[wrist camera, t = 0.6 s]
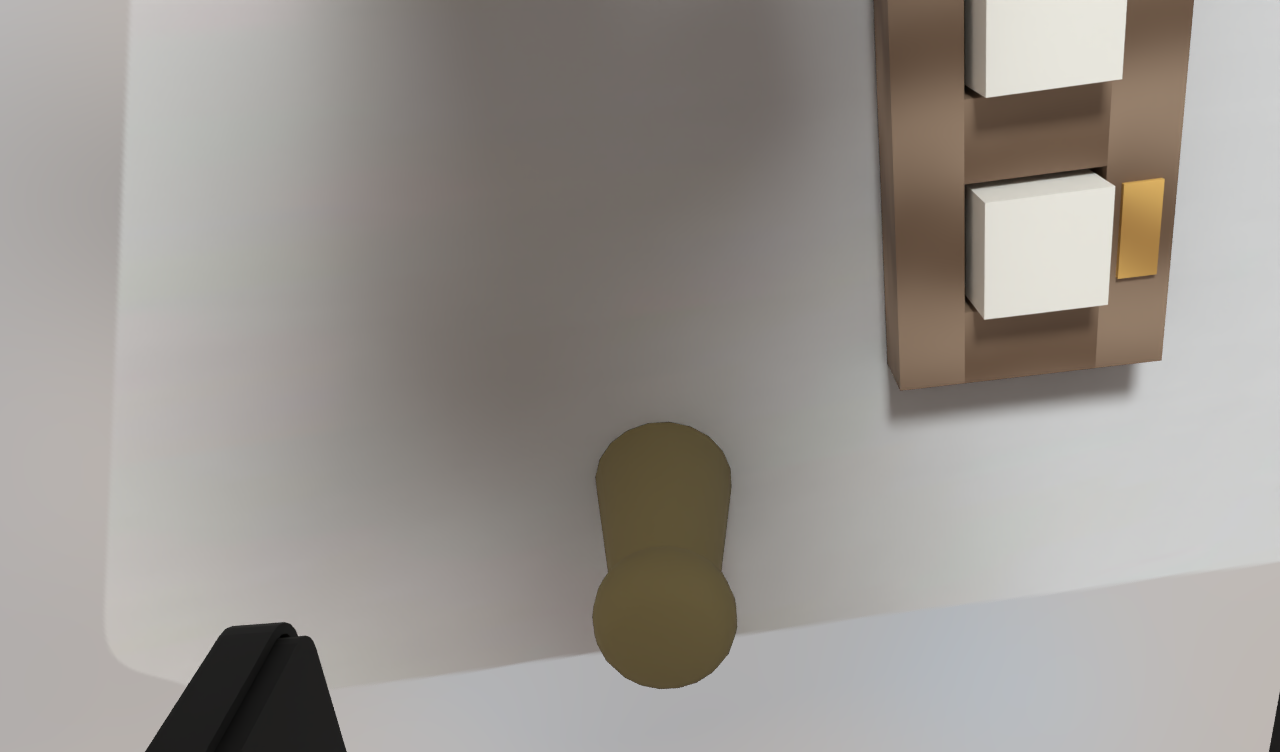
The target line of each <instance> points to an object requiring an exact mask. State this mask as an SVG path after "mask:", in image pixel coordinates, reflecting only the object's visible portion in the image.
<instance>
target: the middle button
mask: <svg viewBox="0 0 1280 752" xmlns="http://www.w3.org/2000/svg"><path fill="white" fill-rule="evenodd" d="M1126 11H1127V0H965V85H966V86H968V87H969V88H971V89H972V90H974V91H976V92H977V93H979V94H980V95H982V96H984V97H985V98H989V97H996V96H1003V95H1011V94H1018V93H1025V92H1032V91H1040V90H1047V89H1054V88H1062V87H1069V86H1076V85H1083V84H1091V83H1098V82H1105V81H1113V80H1120V79H1122V74H1123V58H1124V42H1125V27H1126Z"/></svg>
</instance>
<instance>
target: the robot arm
mask: <svg viewBox="0 0 1280 752" xmlns="http://www.w3.org/2000/svg"><path fill="white" fill-rule="evenodd" d="M145 752H346V748H345V745H344V742H343V738H342V735H341V731H340V728H339V724H338V721H337V718H336V714H335V711H334V707H333V704H332V701H331V697H330V694H329V690H328V687H327V684H326V680H325V677H324V673H323V670H322V667H321V663H320V660H319V656H318V653H317V650H316V647H315V644H314V642H313V640H312V639H311V638H310V637H308V636H298V635H297V633H296V630H295V629H294V628H293V627H292V625H291V624H289V623H285V622H282V623H268V624H255V625H241V626H232V627H229V628H227V629H225V630H224V631H223V633H222V634H221V635H220V636H219V638H218V639H217V641H216V642H215V644H214V645H213V647H212V648H211V650H210V652H209V653H208V655H207V656H206V658H205V659H204V661H203V662H202V664H201V666H200V667H199V669H198V670H197V672H196V673H195V675H194V676H193V678H192V680H191V681H190V683H189V684H188V686H187V687H186V689H185V690H184V692H183V694H182V695H181V697H180V698H179V700H178V702H177V703H176V704H175V706H174V708H173V709H172V711H171V712H170V714H169V716H168V717H167V719H166V720H165V722H164V723H163V725H162V726H161V728H160V729H159V731H158V732H157V734H156V736H155V737H154V739H153V740H152V742H151V744H150V745H149V747H148V748H147V750H146V751H145ZM1269 752H1280V694H1279V700H1278V706H1277V711H1276V716H1275V722H1274V727H1273V733H1272V738H1271V744H1270V750H1269Z"/></svg>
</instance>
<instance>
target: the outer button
mask: <svg viewBox="0 0 1280 752" xmlns="http://www.w3.org/2000/svg"><path fill="white" fill-rule="evenodd" d="M1114 200H1115V186H1114V185H1113V184H1111V183H1110V182H1108V181H1106V180H1105V179H1103V178H1102V177H1100V176H1099V175H1097V174H1096V173H1094V172H1092V171H1091V170H1089V169H1088V168H1086V169H1079V170H1071V171H1064V172H1056V173H1048V174H1041V175H1033V176H1025V177H1018V178H1010V179H1002V180H995V181H987V182H980V183H972V184H965V295H966V296H967V298H968V299H969V300H970V302H971V303H972V304H973V306H974V307H975V308H976V310H977V311H978V312H979V313H980V315H981V316H982V317H983V319H984V320H986V319H994V318H1003V317H1011V316H1019V315H1027V314H1036V313H1044V312H1052V311H1060V310H1069V309H1077V308H1085V307H1094V306H1102V305H1108V295H1109V279H1110V263H1111V248H1112V232H1113V216H1114Z"/></svg>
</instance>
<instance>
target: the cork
mask: <svg viewBox="0 0 1280 752" xmlns="http://www.w3.org/2000/svg"><path fill="white" fill-rule="evenodd" d="M595 478H596V486H597V495H598V502H599V509H600V517H601V524H602V531H603V538H604V546H605V553H606V560H607V567H608V574H607V575H606V576H605V578H604V579H603V581H602V583H601V585H600V586H599V588H598V592H597V595H596V599H595V603H594V607H593V615H592V618H593V626H594V634H595V638H596V641H597V645H598V646H599V648H600V650H601V652H602V654H603V656H604V657H605V659H606V661H607V662H608V663H609V664H611V665H612V666H613V667H614V668H615V669H616V670H617V671H618V672H619V673H620V674H621V675H623V676H624V677H625V678H627V679H629V680H631V681H633V682H635V683H637V684H639V685H642V686H647V687H652V688H657V689H669V688H680V687H684V686H687V685H690V684H693V683H697V682H698V681H700V680H701V679H703V678H705V677H706V676H707V675H709V674H711V673H712V672H713V671H714V670H715V669H716V668H717V667H718V666H719V665H720V663H721V662H722V661H723V660H724V658H725V657H726V656H727V655H728V654H729V651H730V648H731V646H732V643H733V640H734V637H735V633H736V629H737V614H736V604H735V598H734V596H733V593H732V591H731V589H730V587H729V585H728V583H727V581H726V579H725V577H724V575H723V573H722V572H721V569H722V561H723V552H724V544H725V535H726V527H727V519H728V510H729V502H730V494H731V472H730V467H729V464H728V462H727V460H726V458H725V455H724V453H723V451H722V450H721V449H720V448H719V447H718V446H717V445H716V444H715V443H714V442H713V440H712V439H711V438H710V437H709V436H707V435H705V434H703V433H701V432H699V431H698V430H696V429H694V428H692V427H690V426H685V425H680V424H676V423H671V422H663V423H648V424H645V425H642V426H639V427H636V428H634V429H631V430H628V431H626V432H625V433H624V434H622V435H621V436H620V437H618V438H617V439H616V440H614V441H613V442H612V443H611V444H610V445H609V447H608V448H607V450H606V451H605V452H604V454H603V455H602V457H601V458H600V461H599V465H598V469H597V473H596V477H595Z"/></svg>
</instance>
